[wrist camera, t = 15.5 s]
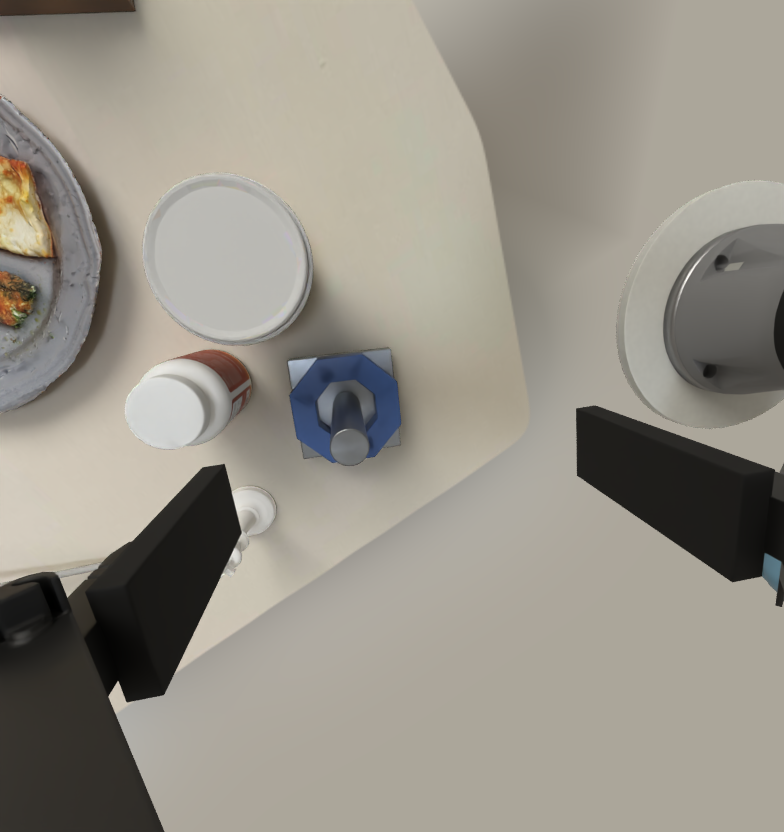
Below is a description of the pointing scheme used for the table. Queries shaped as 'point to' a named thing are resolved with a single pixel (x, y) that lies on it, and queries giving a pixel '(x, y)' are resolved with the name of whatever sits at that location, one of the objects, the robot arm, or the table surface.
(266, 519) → the chess piece
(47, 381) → the food plate
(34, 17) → the table surface
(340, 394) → the post
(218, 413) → the pill bottle
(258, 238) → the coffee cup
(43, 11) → the brown square peg stand
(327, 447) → the ring
